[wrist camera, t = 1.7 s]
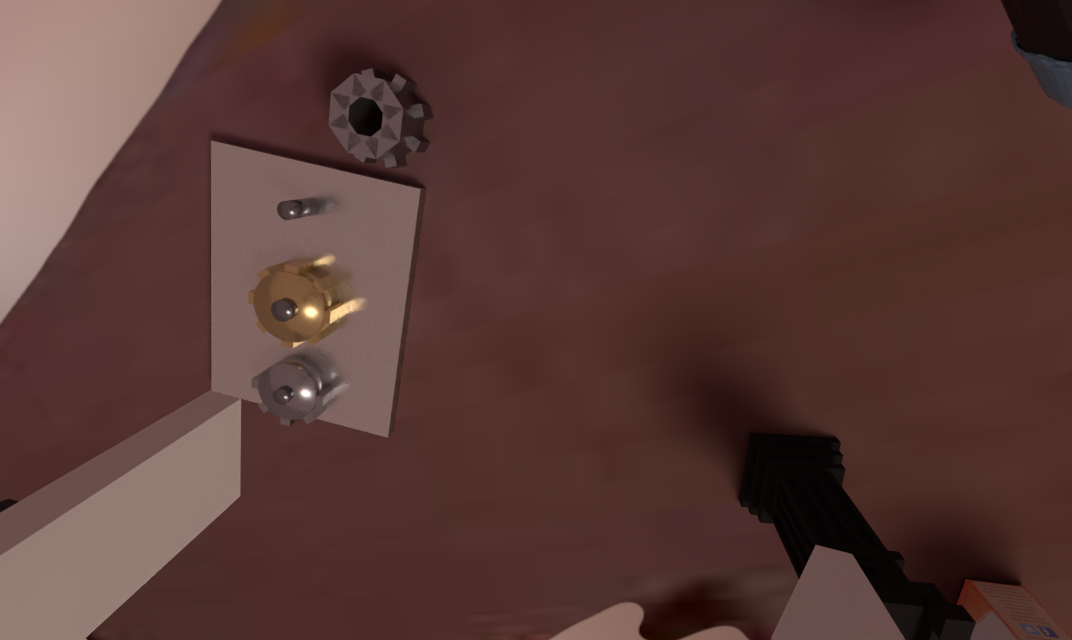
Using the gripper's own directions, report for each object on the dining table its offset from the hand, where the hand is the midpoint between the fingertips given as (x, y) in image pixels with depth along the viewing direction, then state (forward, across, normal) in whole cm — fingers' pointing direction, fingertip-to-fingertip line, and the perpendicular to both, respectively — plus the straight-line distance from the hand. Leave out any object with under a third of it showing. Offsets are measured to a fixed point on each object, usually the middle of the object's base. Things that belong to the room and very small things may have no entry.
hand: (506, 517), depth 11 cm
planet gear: (+37, -19, +7) cm, 42 cm away
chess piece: (+37, +25, -17) cm, 48 cm away
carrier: (+37, -25, -11) cm, 46 cm away
